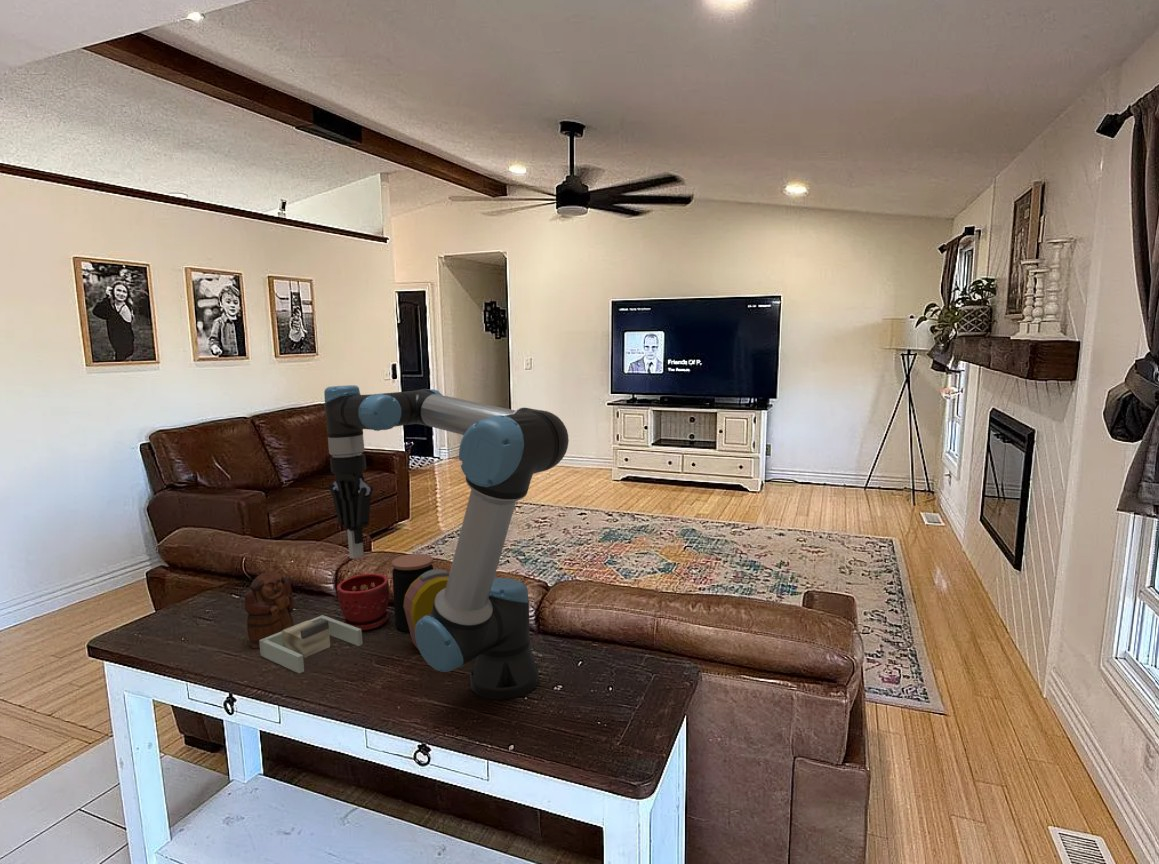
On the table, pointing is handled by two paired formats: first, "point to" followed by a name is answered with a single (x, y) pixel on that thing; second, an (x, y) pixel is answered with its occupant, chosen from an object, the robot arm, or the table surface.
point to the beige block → (307, 637)
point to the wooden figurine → (268, 606)
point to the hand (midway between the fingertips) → (356, 556)
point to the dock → (293, 660)
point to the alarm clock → (423, 597)
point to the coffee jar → (407, 581)
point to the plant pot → (364, 600)
